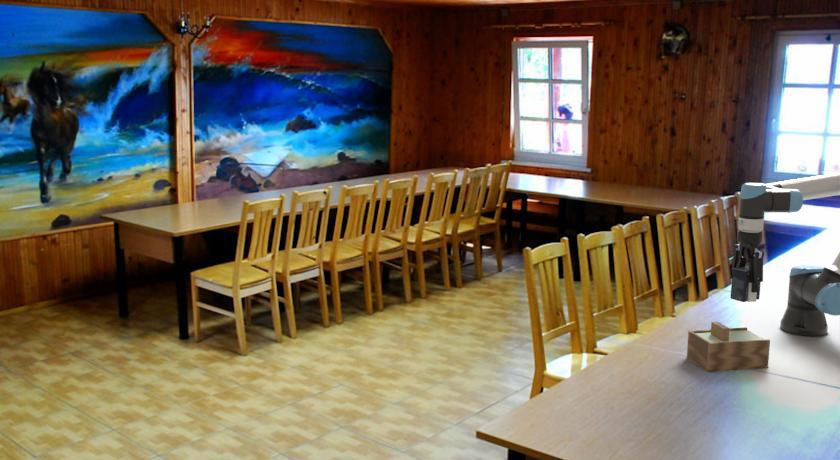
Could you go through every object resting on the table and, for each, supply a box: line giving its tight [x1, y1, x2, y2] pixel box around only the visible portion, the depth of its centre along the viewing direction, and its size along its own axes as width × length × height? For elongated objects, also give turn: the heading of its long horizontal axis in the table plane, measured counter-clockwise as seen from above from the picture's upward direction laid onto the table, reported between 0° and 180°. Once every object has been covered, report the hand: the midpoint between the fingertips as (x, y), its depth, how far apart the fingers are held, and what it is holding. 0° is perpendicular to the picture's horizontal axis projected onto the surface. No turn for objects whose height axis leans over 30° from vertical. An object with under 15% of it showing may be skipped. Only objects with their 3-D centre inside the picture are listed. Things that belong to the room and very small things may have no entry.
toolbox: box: [686, 326, 771, 373], centre depth 253 cm, size 20×13×9 cm, turn 100°
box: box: [729, 265, 761, 303], centre depth 268 cm, size 8×6×11 cm
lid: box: [695, 321, 765, 343], centre depth 252 cm, size 19×11×5 cm, turn 100°
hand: (745, 298), depth 269 cm, fingers closed on box, 7 cm apart
